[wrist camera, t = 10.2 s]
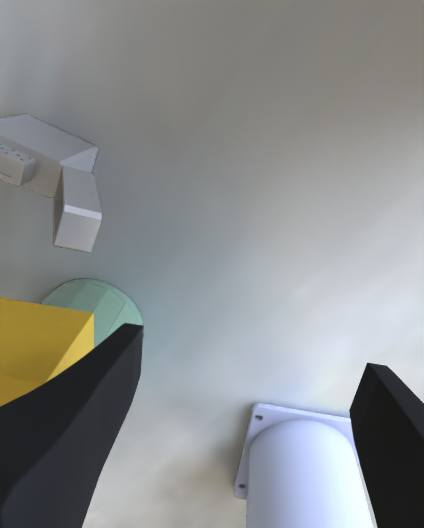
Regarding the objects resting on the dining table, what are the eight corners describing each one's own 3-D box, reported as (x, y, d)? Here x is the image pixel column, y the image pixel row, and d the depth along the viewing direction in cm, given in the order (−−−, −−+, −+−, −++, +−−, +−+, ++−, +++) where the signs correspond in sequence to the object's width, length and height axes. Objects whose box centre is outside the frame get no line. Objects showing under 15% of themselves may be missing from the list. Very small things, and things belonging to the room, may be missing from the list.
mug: (74, 258, 24) (20, 312, 18) (163, 319, 25) (138, 386, 19) (13, 350, 27) (-48, 418, 22) (94, 399, 28) (56, 475, 23)
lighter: (16, 144, 21) (-108, 178, 14) (23, 112, 20) (-105, 131, 13) (140, 200, 22) (84, 262, 14) (151, 171, 21) (97, 221, 14)
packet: (94, 463, 22) (57, 552, 18) (14, 449, 22) (-41, 533, 18) (94, 312, 18) (45, 383, 14) (-6, 296, 18) (-84, 361, 14)
